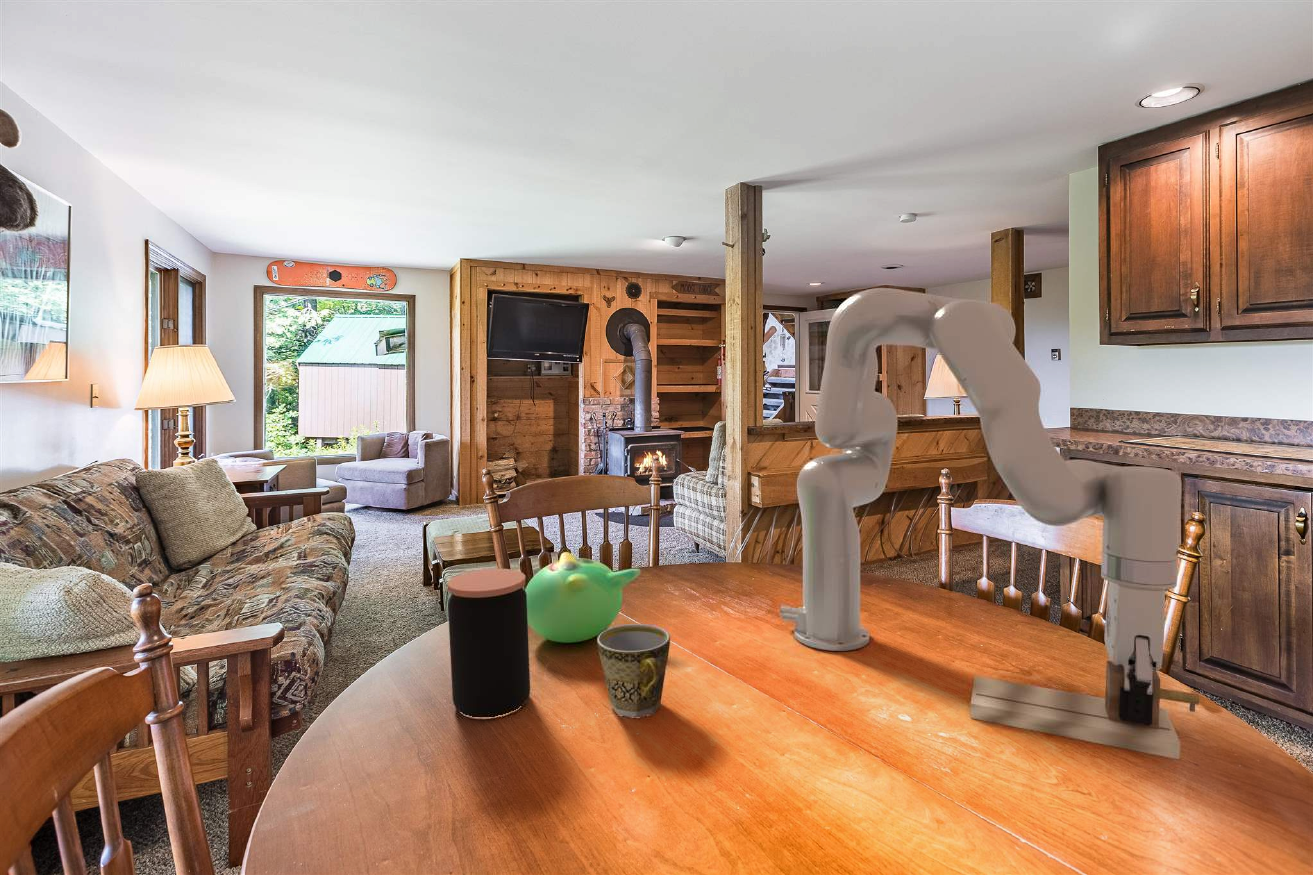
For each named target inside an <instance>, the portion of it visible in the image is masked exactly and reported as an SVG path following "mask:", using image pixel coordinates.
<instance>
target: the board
mask: <svg viewBox="0 0 1313 875" xmlns="http://www.w3.org/2000/svg"><path fill="white" fill-rule="evenodd" d="M971 691H972V692H971V699H970V716H969V717H970V719H974V720H979V721H984V722H990V723H993V724H999V725H1005V726H1010V727H1014V728H1018V729H1025V730H1029V731H1034V732H1039V733H1045V734H1050V735H1055V736H1059V737H1065V738H1069V739H1074V740H1078V741H1079V740H1080V741H1083V742H1084V741H1085V742H1090V743H1095V744H1099V745H1105V746H1109V747H1115V748H1121V749H1125V750H1129V751H1135V752H1140V753H1144V754H1148V755H1155V756H1159V757H1163V758H1164V757H1165V758H1169V759H1174V760H1180V758H1181V757H1180V756H1181V741H1180V739H1179V737H1178V734H1177V732H1176V729H1175V727H1174V724H1173V723H1172V720H1171V718H1170V715H1169V714H1168V711H1167V709H1166V708H1164V707H1159V729H1158V728H1152V727H1147V726H1141V725H1136V724H1130V723H1125V722H1119V721H1114V720H1109V719H1108V715H1107V711H1106V708H1105V697H1098V696H1095V695H1094V696H1093V695H1088V694H1083V693H1082V694H1081V693H1076V692H1070V691H1064V690H1058V689H1052V688H1049V687H1041V686H1035V685H1031V684H1024V683H1019V682H1013V681H1012V682H1011V681H1007V680H1000V679H995V678H989V677H984V676H979V675H974V679H973V685H972V690H971Z"/></svg>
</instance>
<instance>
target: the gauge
mask: <svg viewBox="0 0 1313 875" xmlns="http://www.w3.org/2000/svg"><path fill="white" fill-rule="evenodd" d="M1105 666H1106V667H1105V668H1106V670H1105V696H1104V698H1105V708H1106V711H1107V715H1108V719H1109V720H1114V721H1119V722H1125V723H1130V724H1136V725H1141V726H1147V727H1152V728H1158V729H1159V708H1160V704H1161V703H1160V700H1166V701H1167V700H1168V701H1174V702H1178V703H1185V704H1189V711H1190V712H1193V713H1195V712H1196V705H1197V706H1198V705H1199V704H1200V696H1199V694H1198V693H1192V692H1186V691H1179V690H1175V689H1167V688H1162V687H1161V679H1160V675H1158V671H1156V672H1155V671H1154V670H1153V668H1152V670H1153V672H1152V692H1153V709H1152V724H1151V725H1143V724H1137V723H1132V722H1127V721H1122V720H1121V719H1120V718H1119V703H1120V687H1123V665H1122V664H1119V665H1118V666H1116V665H1114V664H1113V663H1112V662H1111V660H1106V665H1105ZM1131 674H1134V675H1135V671H1133V670H1130V677H1131Z"/></svg>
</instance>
